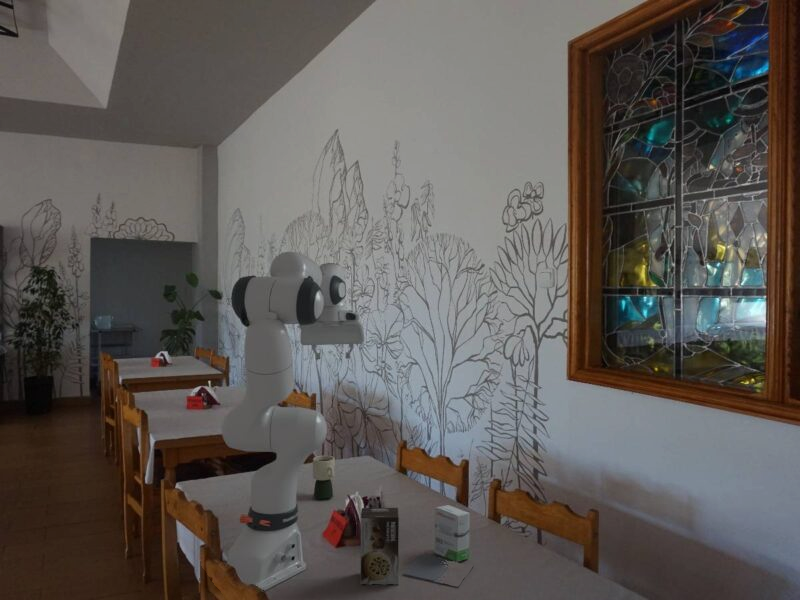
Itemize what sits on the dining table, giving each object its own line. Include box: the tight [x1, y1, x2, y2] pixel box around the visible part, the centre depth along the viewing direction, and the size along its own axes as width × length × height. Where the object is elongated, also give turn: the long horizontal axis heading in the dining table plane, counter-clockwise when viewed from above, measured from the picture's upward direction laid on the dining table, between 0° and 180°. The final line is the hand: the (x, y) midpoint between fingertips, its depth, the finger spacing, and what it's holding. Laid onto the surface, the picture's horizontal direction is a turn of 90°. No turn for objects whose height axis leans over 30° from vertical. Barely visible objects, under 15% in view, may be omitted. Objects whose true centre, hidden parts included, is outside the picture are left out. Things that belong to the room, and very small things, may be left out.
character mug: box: [312, 455, 336, 500], centre depth 204 cm, size 11×7×13 cm, turn 38°
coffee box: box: [359, 507, 400, 586], centre depth 149 cm, size 9×6×16 cm
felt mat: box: [402, 553, 461, 582], centre depth 154 cm, size 12×14×1 cm
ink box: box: [433, 504, 471, 562], centre depth 162 cm, size 9×5×12 cm, turn 39°
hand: (333, 358), depth 198 cm, fingers open, 8 cm apart
